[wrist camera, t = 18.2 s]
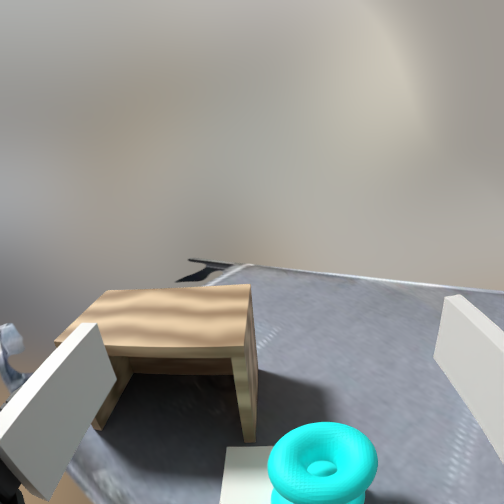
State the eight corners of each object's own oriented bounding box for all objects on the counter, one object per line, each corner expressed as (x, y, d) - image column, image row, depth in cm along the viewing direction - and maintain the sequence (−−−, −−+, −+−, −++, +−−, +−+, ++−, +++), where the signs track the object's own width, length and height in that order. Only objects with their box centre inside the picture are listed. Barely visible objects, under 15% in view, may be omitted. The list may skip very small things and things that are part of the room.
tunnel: (255, 442, 37) (243, 345, 33) (93, 429, 39) (53, 341, 34) (258, 368, 54) (250, 283, 50) (129, 367, 56) (106, 290, 51)
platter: (352, 541, 21) (354, 537, 20) (216, 548, 21) (214, 544, 21) (334, 446, 35) (335, 440, 34) (228, 453, 36) (227, 446, 35)
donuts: (372, 412, 27) (387, 493, 17) (359, 466, 30) (364, 535, 20) (272, 416, 28) (259, 499, 19) (276, 469, 31) (266, 538, 22)
